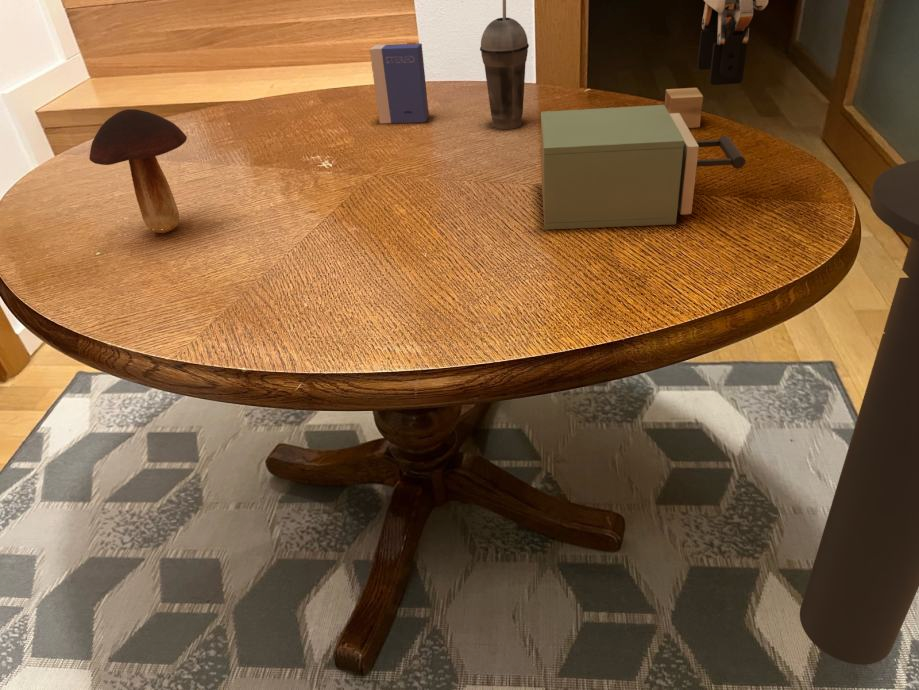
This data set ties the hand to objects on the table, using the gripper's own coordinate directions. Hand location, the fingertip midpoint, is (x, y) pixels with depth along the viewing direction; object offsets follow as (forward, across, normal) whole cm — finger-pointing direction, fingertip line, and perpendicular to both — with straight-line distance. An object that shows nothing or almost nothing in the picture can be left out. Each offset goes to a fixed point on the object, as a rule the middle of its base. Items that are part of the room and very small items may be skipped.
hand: (718, 73), depth 78 cm
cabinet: (+14, 0, +12) cm, 19 cm away
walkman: (+15, +37, +41) cm, 57 cm away
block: (+14, +28, -2) cm, 32 cm away
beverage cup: (+15, +32, +24) cm, 42 cm away
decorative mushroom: (+15, -2, +66) cm, 67 cm away
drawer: (+14, 0, +7) cm, 15 cm away
